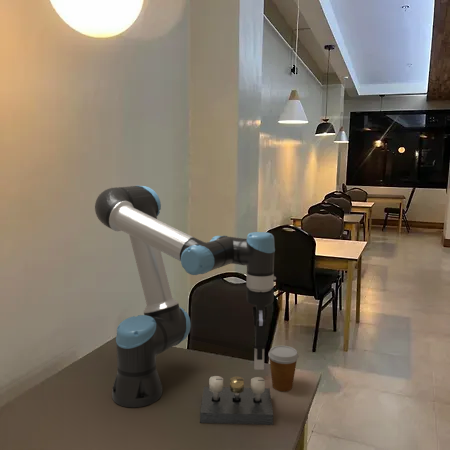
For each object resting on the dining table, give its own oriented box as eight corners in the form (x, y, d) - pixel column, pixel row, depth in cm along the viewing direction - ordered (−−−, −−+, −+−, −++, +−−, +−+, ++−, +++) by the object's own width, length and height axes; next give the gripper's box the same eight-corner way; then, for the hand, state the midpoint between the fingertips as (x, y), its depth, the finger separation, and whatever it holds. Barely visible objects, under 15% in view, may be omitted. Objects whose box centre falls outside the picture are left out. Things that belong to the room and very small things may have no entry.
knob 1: (208, 402, 127) (208, 382, 126) (209, 394, 131) (209, 375, 130) (222, 402, 127) (222, 382, 126) (223, 395, 131) (223, 375, 130)
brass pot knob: (229, 402, 127) (229, 382, 126) (229, 395, 131) (230, 376, 130) (243, 403, 127) (244, 383, 126) (243, 395, 131) (243, 376, 130)
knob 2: (250, 403, 127) (251, 383, 126) (250, 396, 130) (250, 376, 130) (264, 403, 126) (265, 383, 125) (263, 396, 130) (264, 376, 129)
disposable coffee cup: (296, 396, 137) (298, 359, 135) (265, 392, 139) (266, 356, 137) (297, 381, 146) (299, 346, 144) (269, 377, 148) (270, 343, 146)
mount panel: (200, 422, 122) (200, 412, 122) (204, 395, 136) (204, 386, 136) (272, 424, 122) (273, 414, 121) (269, 397, 136) (269, 388, 135)
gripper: (275, 295, 117) (274, 379, 120) (272, 281, 130) (270, 358, 133) (247, 295, 117) (246, 379, 120) (246, 281, 130) (245, 358, 133)
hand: (259, 368), depth 127 cm, fingers closed
